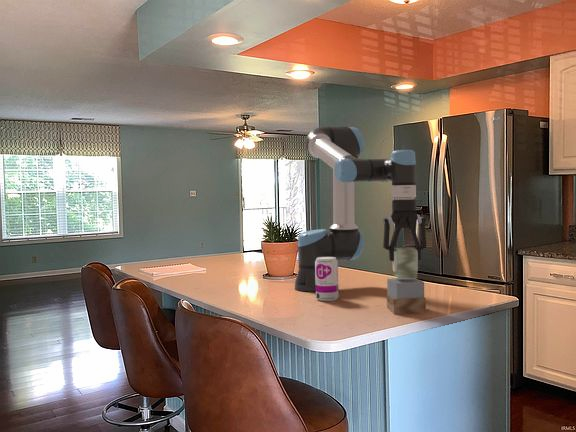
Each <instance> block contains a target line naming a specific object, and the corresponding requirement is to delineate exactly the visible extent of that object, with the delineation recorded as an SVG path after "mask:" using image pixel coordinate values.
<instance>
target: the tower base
mask: <svg viewBox="0 0 576 432" xmlns="http://www.w3.org/2000/svg"><path fill="white" fill-rule="evenodd" d="M426 301H427V300H426V298H425V297H424V298H410V299H396V298H394V297H392V296H390V295H389V294H388V292H387V293H386V307H387V309H388V310H389V311H390V312H391V313H392V314H393V315H417V314H418V315H419V314H420V315H422V314H427V309H426V308H427V305H426V304H427V303H426Z"/></svg>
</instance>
